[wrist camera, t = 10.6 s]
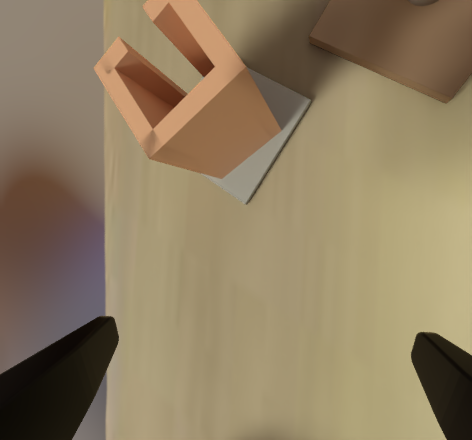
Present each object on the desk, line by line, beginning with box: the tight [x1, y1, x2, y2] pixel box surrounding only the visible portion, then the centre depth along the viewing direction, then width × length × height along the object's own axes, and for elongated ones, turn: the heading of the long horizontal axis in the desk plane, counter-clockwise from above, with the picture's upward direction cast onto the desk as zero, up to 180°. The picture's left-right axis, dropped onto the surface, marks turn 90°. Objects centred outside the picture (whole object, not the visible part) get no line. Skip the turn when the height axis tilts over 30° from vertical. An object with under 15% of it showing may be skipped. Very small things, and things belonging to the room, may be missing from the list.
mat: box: [200, 67, 311, 204], centre depth 20 cm, size 9×9×1 cm
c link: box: [94, 0, 282, 179], centre depth 16 cm, size 6×6×9 cm
